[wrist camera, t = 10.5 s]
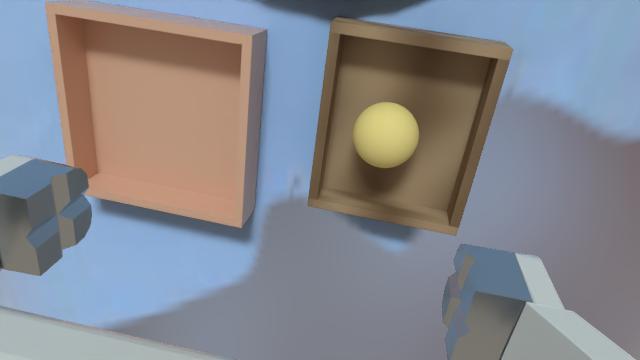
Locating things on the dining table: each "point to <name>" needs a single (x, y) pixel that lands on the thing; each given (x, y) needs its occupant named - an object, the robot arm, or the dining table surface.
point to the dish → (160, 107)
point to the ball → (385, 135)
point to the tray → (426, 107)
